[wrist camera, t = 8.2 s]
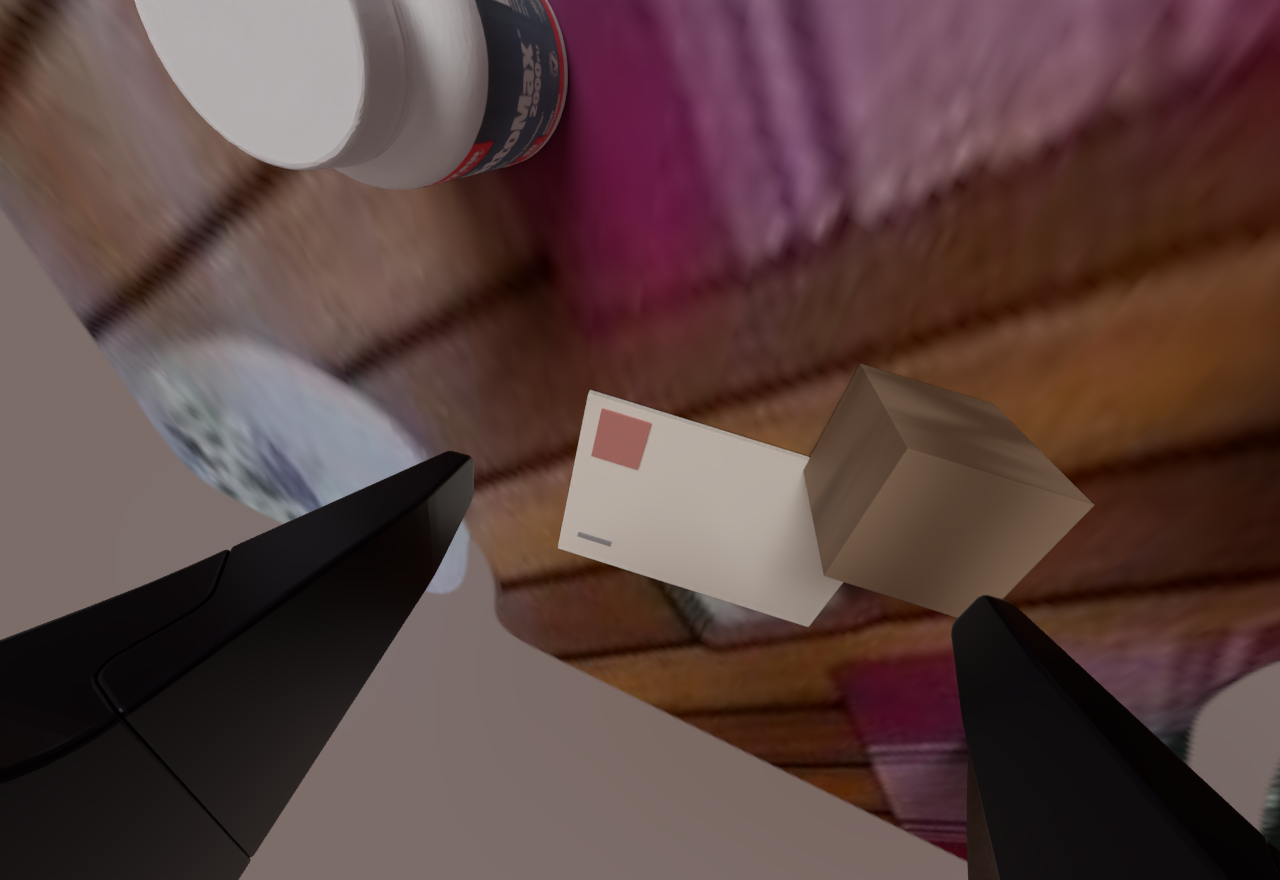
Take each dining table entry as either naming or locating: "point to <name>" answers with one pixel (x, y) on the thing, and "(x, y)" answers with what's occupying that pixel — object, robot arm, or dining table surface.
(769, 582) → the letter
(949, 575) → the walnut block
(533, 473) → the dining table surface
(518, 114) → the pill bottle
